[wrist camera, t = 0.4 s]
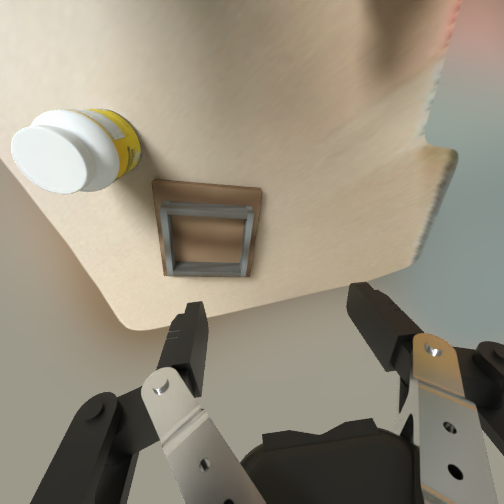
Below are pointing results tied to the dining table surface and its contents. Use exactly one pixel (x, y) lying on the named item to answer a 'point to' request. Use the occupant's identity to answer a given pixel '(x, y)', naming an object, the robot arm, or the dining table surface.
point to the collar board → (206, 228)
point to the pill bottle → (76, 149)
